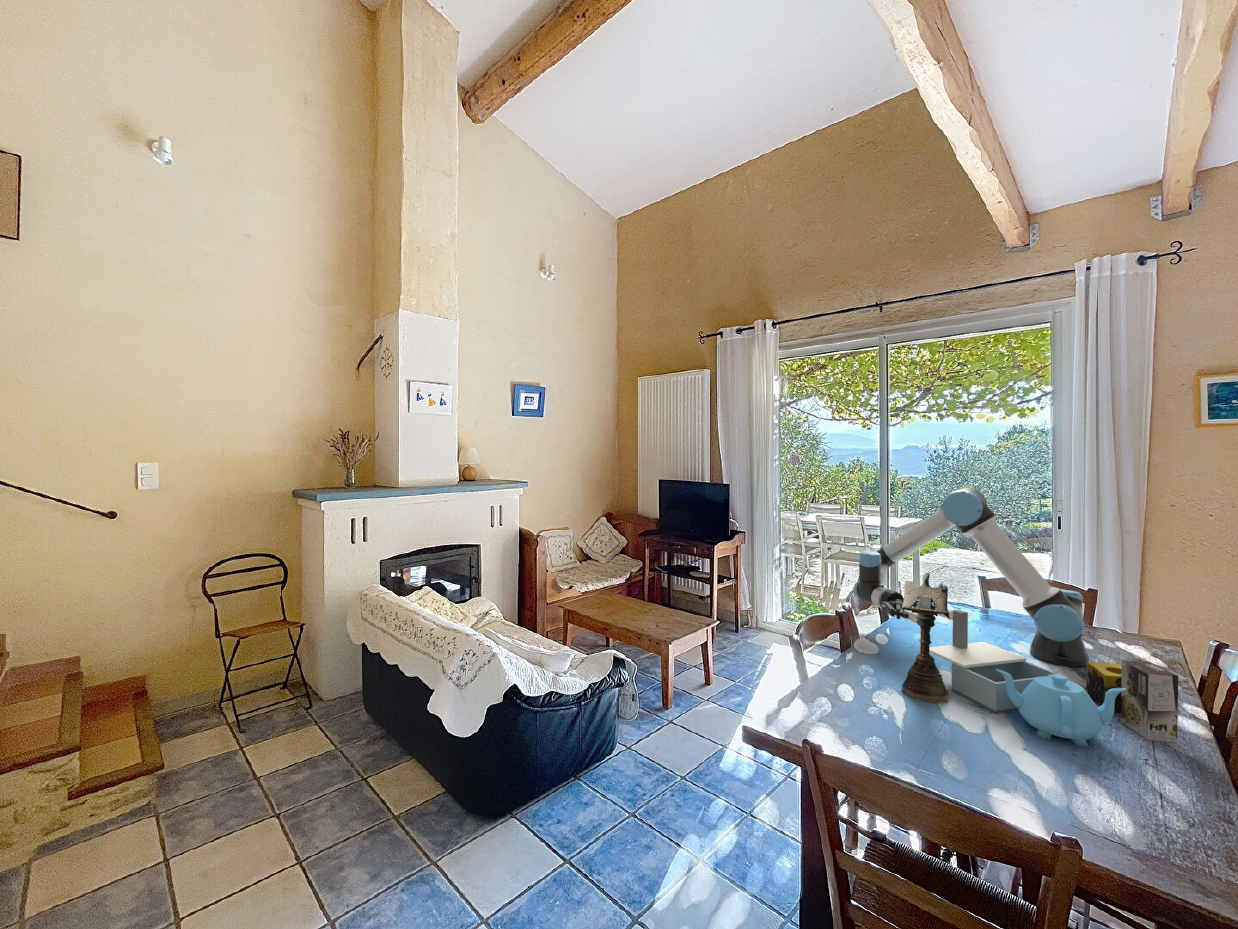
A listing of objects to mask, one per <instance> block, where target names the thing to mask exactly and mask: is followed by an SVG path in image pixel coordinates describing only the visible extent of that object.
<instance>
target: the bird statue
mask: <svg viewBox="0 0 1238 929" xmlns="http://www.w3.org/2000/svg"><path fill="white" fill-rule="evenodd" d="M930 574H931V573H930V572H925V573H924V574H923V577H922V579H923V580H922V584H921V585H916V584H914V582H913V581H911V580H906V581H904V593H903V595H904V596H903V598H904V601H903V605H902V608H901V610H900V613H901V612H902V611H904V610H908V611H909V610H911V611H910V612H912V613H915V614H916V615H915V617H916V618H917V621H916V623H915V624H916V625H918V626H919V628H920V638H919V639H918V640H919V642H920V643H919V644H920V646H919V650H920V652H919V653H917V654H916V655H915V661H914V662H913V665H910V668H908V671H907V673H908V674H907V675H906V678H905V679H904V680H903V683H902V684H901V692H902V693H904V694H905V693H907V694H908V695H907V694H906V695H907V696H908V697H910V698H911V699H912V700H913V699H914V700H917V699H919V700H918V701H921V700H922V702H925V701H926V703H930V704H938V703H939V704H941V703H947V702H948V699H949V697H950V690H949V689H947V688H946V685H945V683H944V681H943V674H941V672H940V670H939V669H938V667H937V665H936V662H935V658H934V657H933V656H932V655H931V653H930V652H929V651H930V650H929V649H930V648H929V647H931V646H930V645H931V644H932V641H931V629H932V628H934V627H935V626H936V624H935V621H936V619H937V617H938V616H939V615H938V614H944V615H945V616H946V617H947V618H948V619H947V618H946V619H947V620H950V616H949V613H948V610H949V609H948V594H949V593H948V591H949V589H948V586H947V585H946V584H943V581H940V584H938V586H937V587H933V586H931V585H930ZM954 584H955V583H954ZM917 600H919V603H918V604H917V606H916V607H915V608H914V607H913V606H912V605H913V604H914V603H915V602H916V601H917ZM931 603H934V605H935V606H936V607H937V609H938V610H939V611H938V610H935V609H934V608H933V606H932V604H931ZM911 606H912V607H911ZM937 613H938V614H937Z"/></svg>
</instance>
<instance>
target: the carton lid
mask: <svg viewBox="0 0 1238 929" xmlns="http://www.w3.org/2000/svg"><path fill="white" fill-rule="evenodd" d="M952 611H953V620H952V644H947V645H937V646H930V647H929V648H930V649H929V650H930V651H929V654H932V655H933V656H936V657H938V658H941V659H942V660H945V661H948V662H949V663H951V664H952V663H954V664H956V665H958V666H960V667H962V668H970V667H979V666H987V665H996V664H1005V663H1014V662H1022V661H1026V662H1027V657H1024V656H1022V655H1019V654H1016V653H1014V652H1011V651H1008V650H1005V649H1004V648H1002V647H998V646H996V645H993V644H991V643H988V642H985V641H978V642H977V641H976V642H969V640H968V639H969V637H968V636H969V635H968V634H969V632H968V630H969V626H968V625H969V613H968V612H967V611H964V610H961V609H953V610H952Z"/></svg>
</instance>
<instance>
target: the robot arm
mask: <svg viewBox="0 0 1238 929" xmlns="http://www.w3.org/2000/svg"><path fill="white" fill-rule="evenodd" d="M938 507H939V508H938V510H937V511H935V512H934V513H932V514H931V515H929V516H928V517H926V518H924V519H923V520H921V521H920V522H918V523H917V524H916V525H914V526H912V527H911V528H909V529H908V530H907V531H905V532H904V533H902V534H900V535H899V536H897V537H896V538H894V539H892V541H890V542H889V543H887V544H886V545H883V547H881V548H879V549H878V550H877V551H872V550H865V551H861V552H860V553H859V557H858V558H859V559H858V564H859V565H858V572H859V573H858V576H859V577H858V581H856V582H855V583H854V586H853V588H852V592H853V590H856V591H854V592H853V596H854V597H855V598H857V599H859V600H860V601H862V602H864V603H867V604H870V605H873V606H875V607H877V608H880V609H881V610H882V611H885V612H887V614H888V615H889V616H890V617H895V616H896V619H897V620H900V619H901V618H902V619H905V620H907V621H910V622H913V623H914V624H917V623H916V621H917V618H916V617H915V615H916V614H917V613H912V611H911V610H904V611H902V612H901V613H900V611H901V608H902V605H903V601H904V596H903V594H901V593H900V592H898V591H895V590H892V589H890V588H886V587H883V586H882V584H881V583H882V577H881V576H882V573H883V572H884V571H887V570H888V569H889V568H891V567H893V566H894V565H895V564H897V563H898V562H900V561H901V560H903V559H905V558H906V557H908V556H910V555H911V554H913V553H914V552H915V551H918V550H919V549H920V548H922V547H923V546H925V545H927V544H929V543H930V542H932V541H933V540H935V539H937V538H939V537H940V536H941V535H943V534H944V533H946V532H948V531H949V530H951V529H952V528H954V527H956V528H957V529H958V530H959V532H960V533H961V534H962V535H964V536H969V537H970V538H972V540H973V541H974V542H975V543H976V545H978V547H979V548H980V550H982V552H983V554H985V556H986V557H987V558H988V559H989V561H991V563H992V564H993V565H994V566H995V568H996V569H997V570H998V571H999V572H1000V573H1001V575H1002V576H1003V577H1004V578H1005V579H1006V581H1007V582H1008V583H1009V584H1010V585H1011V587H1012V588H1013V590H1015V592H1016V593H1017V594H1018V595H1019V596H1020V598H1021V599H1022V605H1021V607H1022V608H1023V609H1024V611H1025V612H1026V613H1027V614H1028V615H1029V616H1030V617H1031V619H1032V620H1033V622H1034V626H1035V628H1036V633H1035V635H1034V637H1033V639H1032V642H1031V644H1030V647H1029V648H1030V650H1029V653H1030V655H1032V656H1033V657H1035V658H1036V659H1038V660H1041V661H1043V662H1048V663H1051V664H1055V665H1061V666H1066V667H1087V662H1090V657H1089V654H1088V652H1087V649H1086V646H1085V643H1084V641H1083V632H1084V629H1085V621H1084V614H1083V603H1084V599H1083V598H1084V597H1083V594H1082V593H1081V592H1078V591H1075V590H1074V591H1073V590H1070V589H1069V590H1067V589H1062V588H1058V587H1054V586H1051V585H1050V584H1049V583H1048V582H1047V580H1046V579H1045V578H1044V577H1043V576H1042V575H1041V573H1040V572H1039V571H1038V570H1037V569H1036V567H1034V565H1033V564H1032V563H1031V561H1029V560H1028V559H1027V557H1026V556H1025V555H1024V554H1023V552H1021V551H1020V549H1019V548H1018V546H1016V545H1015V543H1014V542H1013V541H1012V540H1011V539H1010V538H1009V537H1008V535H1007V534H1006V533H1005V531H1003V529H1001V527H1000V526H999V525H998V524H997V522H996V521H997V515H996V514H995V513H994V512H993V510H992V509H991V508H990V506H988V503H987V499H986V497H985V496H984V495H983V494H982V493H981V492H980V491H979V490H977V489H975V488H970V487H969V488H968V487H965V488H960V489H955V490H953V491H951V492H949V493H948V494H947V495H946V496H945V497H944V498H943V501H942V503H941V505H939V506H938ZM918 603H919V599H917V601H916V602H915V603H914V604H913V605H912V606H911V607H913V608H915V607H916V606H917V604H918ZM931 604H932V606H933V608H934V609H935V610H938V609H937V607H936V606H935V605H934V603H933V602H932V603H931ZM938 611H939V610H938ZM948 613H949V616H950V620H951V621H953V610H950V609H948ZM937 614H938V613H937ZM937 616H939V617H943V618H945V619H947V620H949V619H948V618H947V617H946V616H945V615H944V614H938V615H937Z"/></svg>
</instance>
